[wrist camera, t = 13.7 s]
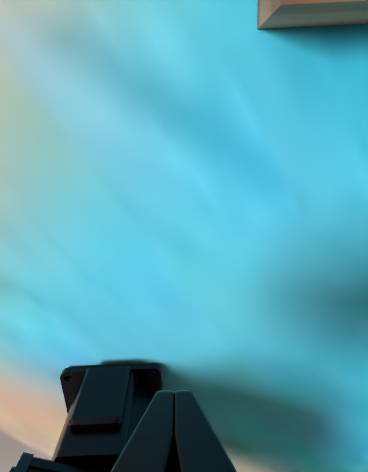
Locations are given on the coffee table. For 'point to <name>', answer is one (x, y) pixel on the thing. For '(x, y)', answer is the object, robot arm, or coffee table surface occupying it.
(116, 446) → the robot arm
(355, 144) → the coffee table surface
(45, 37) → the coffee table surface
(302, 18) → the wall board
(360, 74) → the coffee table surface
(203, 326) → the coffee table surface
